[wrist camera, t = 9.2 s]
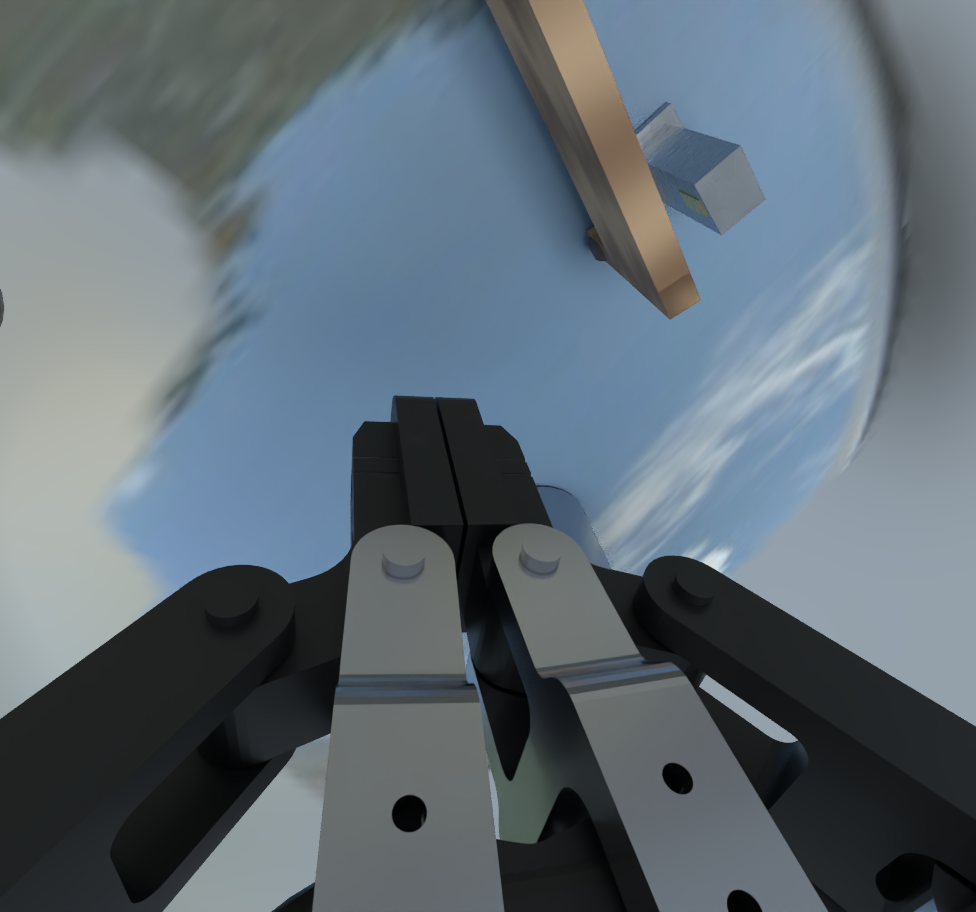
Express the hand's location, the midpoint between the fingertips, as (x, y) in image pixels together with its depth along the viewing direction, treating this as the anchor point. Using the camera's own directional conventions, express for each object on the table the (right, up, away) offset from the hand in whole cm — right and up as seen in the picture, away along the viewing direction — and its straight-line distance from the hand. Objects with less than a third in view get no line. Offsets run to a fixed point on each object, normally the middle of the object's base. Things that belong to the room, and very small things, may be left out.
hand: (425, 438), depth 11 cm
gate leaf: (+4, +17, +19) cm, 26 cm away
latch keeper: (+11, +16, +22) cm, 30 cm away
